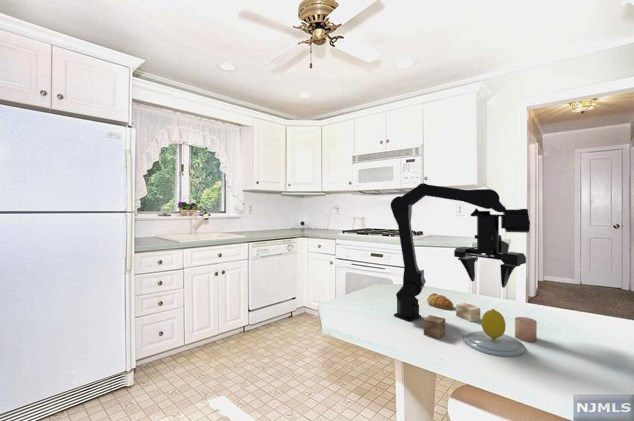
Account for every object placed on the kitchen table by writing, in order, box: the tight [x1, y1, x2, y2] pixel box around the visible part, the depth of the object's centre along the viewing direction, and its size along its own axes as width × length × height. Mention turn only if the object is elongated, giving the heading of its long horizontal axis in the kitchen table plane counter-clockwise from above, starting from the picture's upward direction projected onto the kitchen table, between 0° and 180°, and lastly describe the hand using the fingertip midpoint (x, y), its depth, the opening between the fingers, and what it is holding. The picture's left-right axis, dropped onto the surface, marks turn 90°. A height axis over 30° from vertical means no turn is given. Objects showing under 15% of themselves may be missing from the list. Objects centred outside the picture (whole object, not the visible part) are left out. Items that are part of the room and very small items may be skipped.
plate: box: [463, 330, 526, 358], centre depth 86 cm, size 14×14×1 cm
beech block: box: [455, 302, 481, 323], centre depth 106 cm, size 6×4×4 cm, turn 23°
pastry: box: [426, 292, 454, 310], centre depth 118 cm, size 9×7×4 cm
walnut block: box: [423, 314, 446, 340], centre depth 93 cm, size 4×4×4 cm
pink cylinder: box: [514, 316, 538, 343], centre depth 90 cm, size 5×5×5 cm
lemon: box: [481, 308, 506, 339], centre depth 86 cm, size 6×6×8 cm
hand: (487, 284), depth 97 cm, fingers open, 9 cm apart
